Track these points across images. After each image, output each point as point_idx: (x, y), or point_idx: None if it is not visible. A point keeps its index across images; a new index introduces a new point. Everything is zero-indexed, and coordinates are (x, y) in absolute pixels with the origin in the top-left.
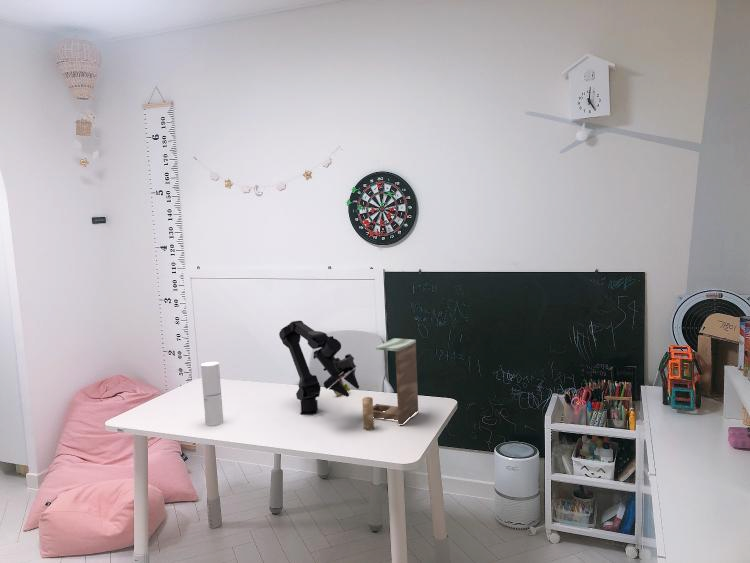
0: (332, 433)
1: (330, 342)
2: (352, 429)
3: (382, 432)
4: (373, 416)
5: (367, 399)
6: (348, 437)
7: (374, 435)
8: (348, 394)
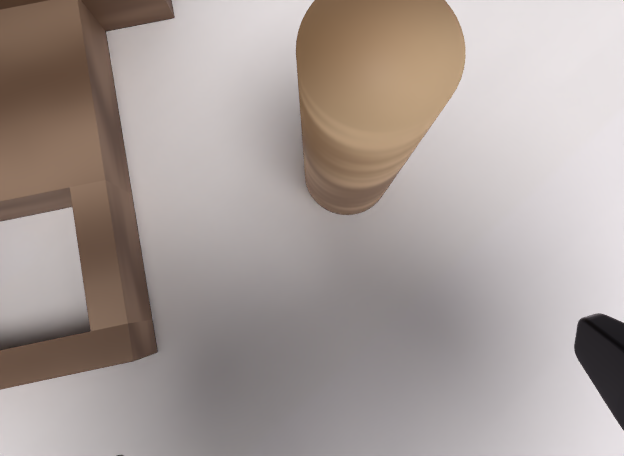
0: None
1: None
2: (437, 273)
3: None
4: (139, 284)
5: (409, 24)
6: (580, 186)
7: None
8: (611, 322)
